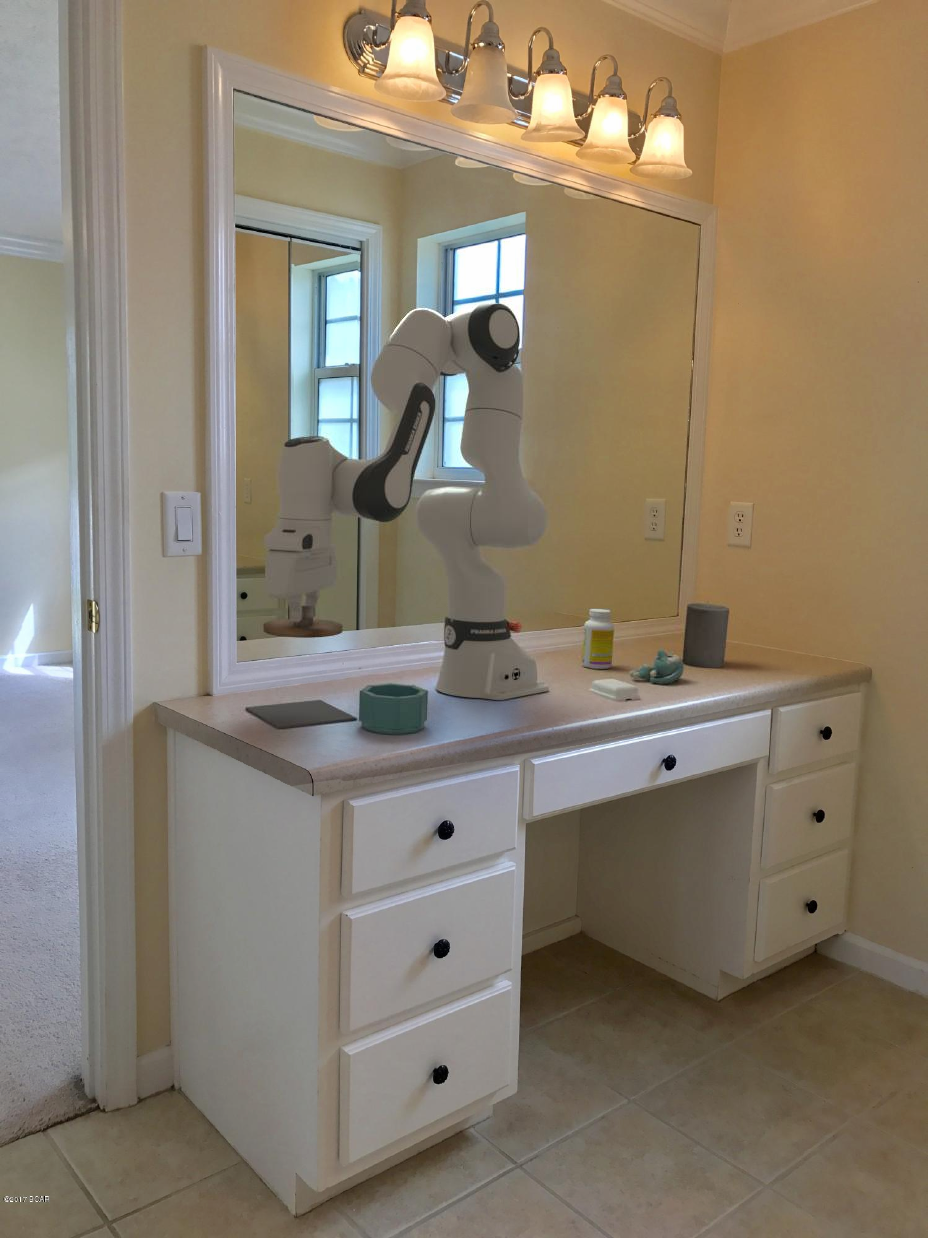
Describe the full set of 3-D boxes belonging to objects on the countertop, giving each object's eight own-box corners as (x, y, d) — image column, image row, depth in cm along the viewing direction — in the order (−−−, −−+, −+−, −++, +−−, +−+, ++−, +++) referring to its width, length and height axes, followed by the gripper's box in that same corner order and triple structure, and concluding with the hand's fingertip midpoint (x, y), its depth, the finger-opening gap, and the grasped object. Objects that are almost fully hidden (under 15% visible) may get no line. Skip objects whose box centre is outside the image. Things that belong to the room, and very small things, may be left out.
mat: (320, 702, 175) (320, 699, 175) (356, 720, 163) (356, 717, 163) (245, 709, 167) (245, 707, 167) (278, 729, 155) (278, 726, 155)
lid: (321, 622, 172) (321, 599, 171) (356, 634, 161) (356, 610, 161) (251, 626, 165) (251, 603, 164) (282, 639, 154) (283, 614, 153)
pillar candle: (673, 662, 229) (678, 599, 226) (697, 658, 235) (703, 596, 233) (708, 670, 222) (714, 605, 219) (732, 665, 228) (738, 602, 226)
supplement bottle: (617, 668, 218) (621, 611, 216) (595, 670, 215) (599, 613, 213) (597, 663, 224) (601, 607, 222) (575, 665, 220) (579, 608, 218)
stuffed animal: (618, 651, 210) (667, 640, 213) (621, 683, 211) (670, 672, 214) (641, 661, 200) (693, 649, 203) (645, 694, 201) (696, 682, 204)
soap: (642, 700, 189) (643, 686, 189) (614, 703, 186) (615, 688, 185) (613, 690, 197) (614, 676, 196) (586, 693, 193) (586, 678, 193)
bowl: (404, 715, 167) (405, 681, 167) (436, 730, 159) (438, 694, 158) (349, 722, 162) (350, 686, 161) (380, 737, 153) (381, 700, 152)
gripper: (313, 531, 171) (312, 609, 173) (258, 538, 152) (257, 626, 154) (347, 533, 170) (345, 612, 172) (295, 541, 150) (294, 629, 152)
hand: (303, 619), depth 163 cm, fingers closed on lid, 3 cm apart
